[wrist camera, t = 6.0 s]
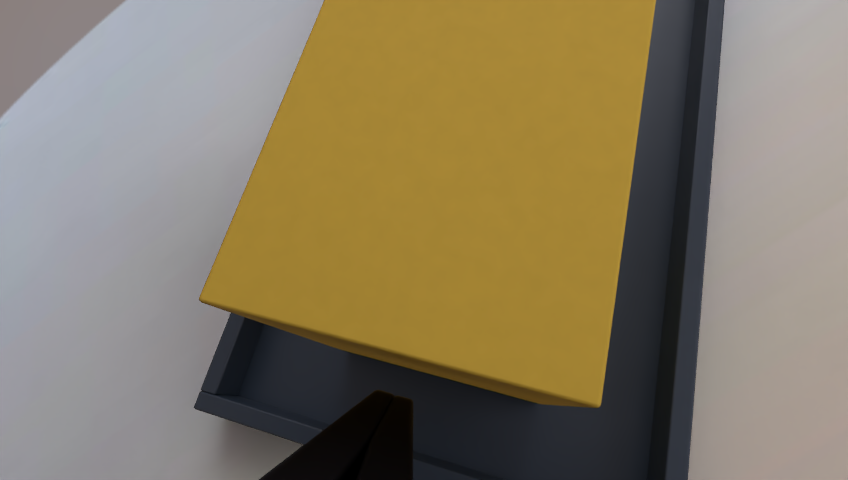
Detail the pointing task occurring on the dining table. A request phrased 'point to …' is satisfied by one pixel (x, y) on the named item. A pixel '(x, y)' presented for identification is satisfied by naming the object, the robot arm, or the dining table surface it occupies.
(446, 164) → the sponge
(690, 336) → the tray
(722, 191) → the dining table surface
